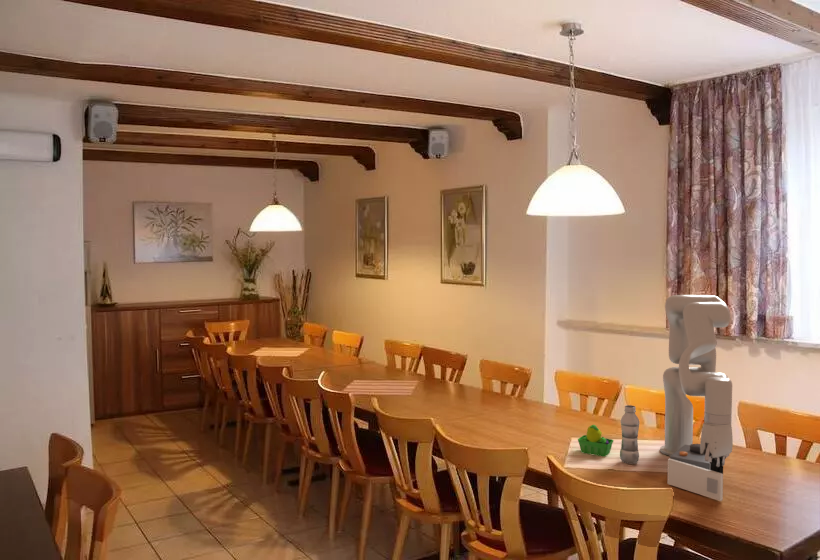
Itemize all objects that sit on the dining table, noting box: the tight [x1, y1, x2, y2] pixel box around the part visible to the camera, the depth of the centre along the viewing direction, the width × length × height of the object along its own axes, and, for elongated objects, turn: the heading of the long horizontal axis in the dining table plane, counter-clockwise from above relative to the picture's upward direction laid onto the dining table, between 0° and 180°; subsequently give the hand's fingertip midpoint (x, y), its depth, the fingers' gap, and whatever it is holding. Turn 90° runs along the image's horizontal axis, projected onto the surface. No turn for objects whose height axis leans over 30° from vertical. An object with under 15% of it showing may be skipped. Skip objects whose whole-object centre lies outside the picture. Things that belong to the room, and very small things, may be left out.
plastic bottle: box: [619, 404, 640, 465], centre depth 243 cm, size 6×7×20 cm
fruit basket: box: [577, 424, 615, 458], centre depth 255 cm, size 11×9×11 cm
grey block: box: [669, 443, 711, 470], centre depth 225 cm, size 16×12×11 cm
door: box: [667, 458, 724, 502], centre depth 214 cm, size 2×18×8 cm, turn 34°
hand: (716, 477), depth 211 cm, fingers closed
